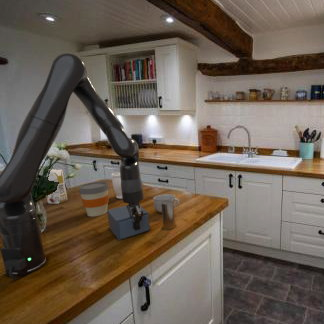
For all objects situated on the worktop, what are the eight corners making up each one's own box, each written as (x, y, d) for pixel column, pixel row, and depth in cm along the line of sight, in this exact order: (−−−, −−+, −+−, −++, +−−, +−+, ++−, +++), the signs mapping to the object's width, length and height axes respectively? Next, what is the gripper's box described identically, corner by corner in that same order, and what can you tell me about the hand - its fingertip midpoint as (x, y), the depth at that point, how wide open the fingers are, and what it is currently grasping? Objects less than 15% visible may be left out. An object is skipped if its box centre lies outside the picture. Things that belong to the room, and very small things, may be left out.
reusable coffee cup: (113, 206, 136) (109, 180, 133) (109, 215, 124) (105, 187, 121) (86, 210, 131) (82, 183, 128) (80, 219, 120) (75, 190, 117)
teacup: (150, 212, 127) (148, 198, 126) (166, 205, 137) (164, 191, 135) (169, 217, 121) (168, 202, 119) (185, 210, 130) (184, 195, 129)
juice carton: (58, 204, 139) (52, 172, 136) (45, 203, 141) (39, 171, 137) (69, 200, 147) (64, 169, 143) (57, 199, 148) (52, 168, 144)
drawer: (150, 230, 106) (148, 216, 105) (121, 239, 99) (119, 224, 97) (138, 219, 117) (137, 206, 115) (112, 227, 109) (110, 213, 108)
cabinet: (149, 230, 109) (148, 212, 107) (118, 240, 100) (116, 220, 98) (138, 219, 119) (136, 203, 117) (109, 228, 111) (107, 210, 109)
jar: (114, 195, 155) (112, 172, 152) (133, 192, 159) (130, 170, 156) (113, 200, 145) (110, 176, 142) (132, 197, 149) (130, 174, 146)
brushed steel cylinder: (172, 229, 109) (170, 204, 107) (161, 229, 109) (159, 204, 107) (176, 224, 114) (175, 199, 112) (165, 224, 114) (163, 199, 112)
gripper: (117, 187, 100) (122, 227, 103) (127, 195, 90) (132, 238, 93) (136, 183, 105) (140, 221, 108) (147, 190, 95) (152, 231, 98)
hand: (137, 229), depth 101 cm, fingers closed
